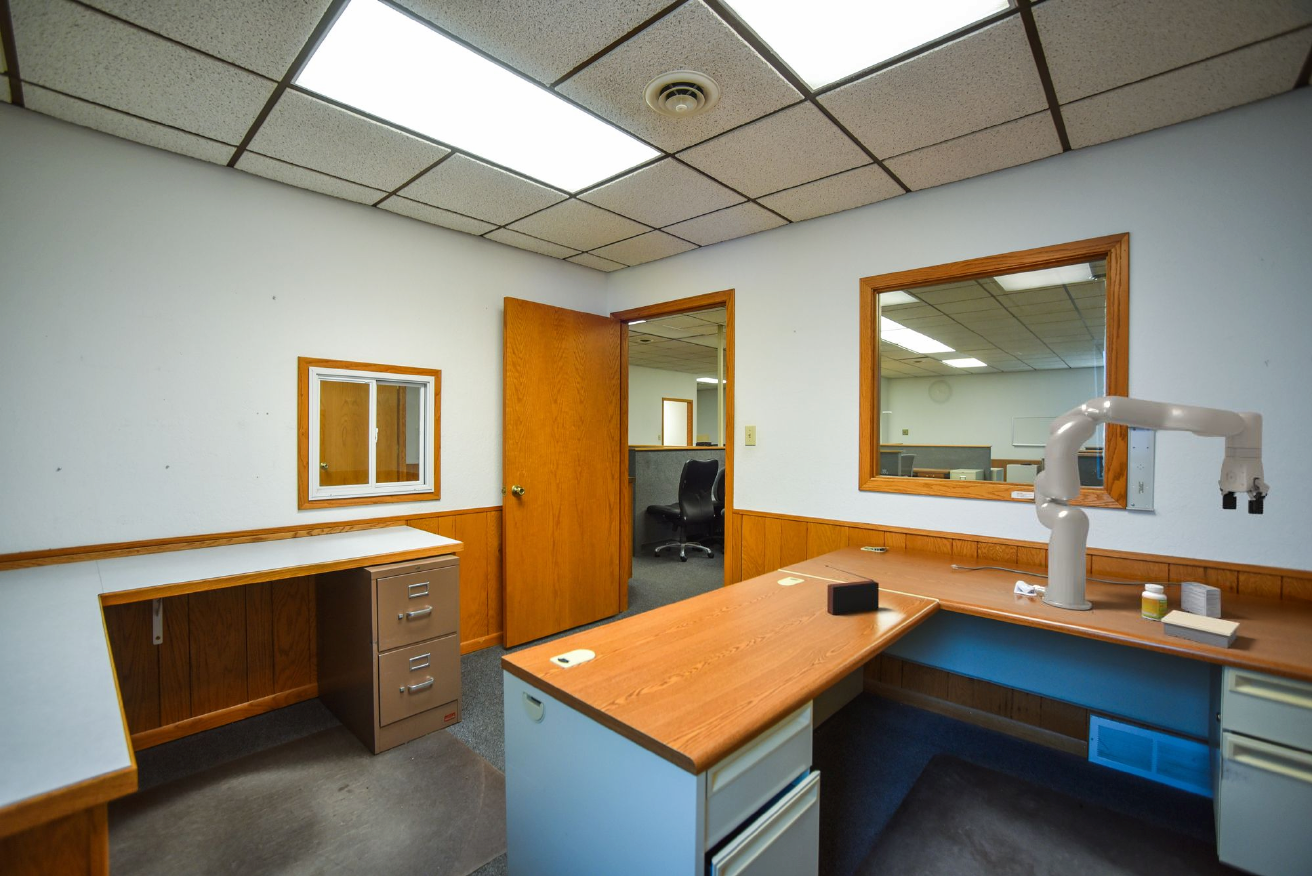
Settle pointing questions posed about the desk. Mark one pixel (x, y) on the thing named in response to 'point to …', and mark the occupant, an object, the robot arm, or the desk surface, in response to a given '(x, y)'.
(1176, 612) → the base block
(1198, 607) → the medicine box
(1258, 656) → the desk surface
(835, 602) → the radio
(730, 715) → the desk surface
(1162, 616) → the supplement bottle
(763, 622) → the desk surface
